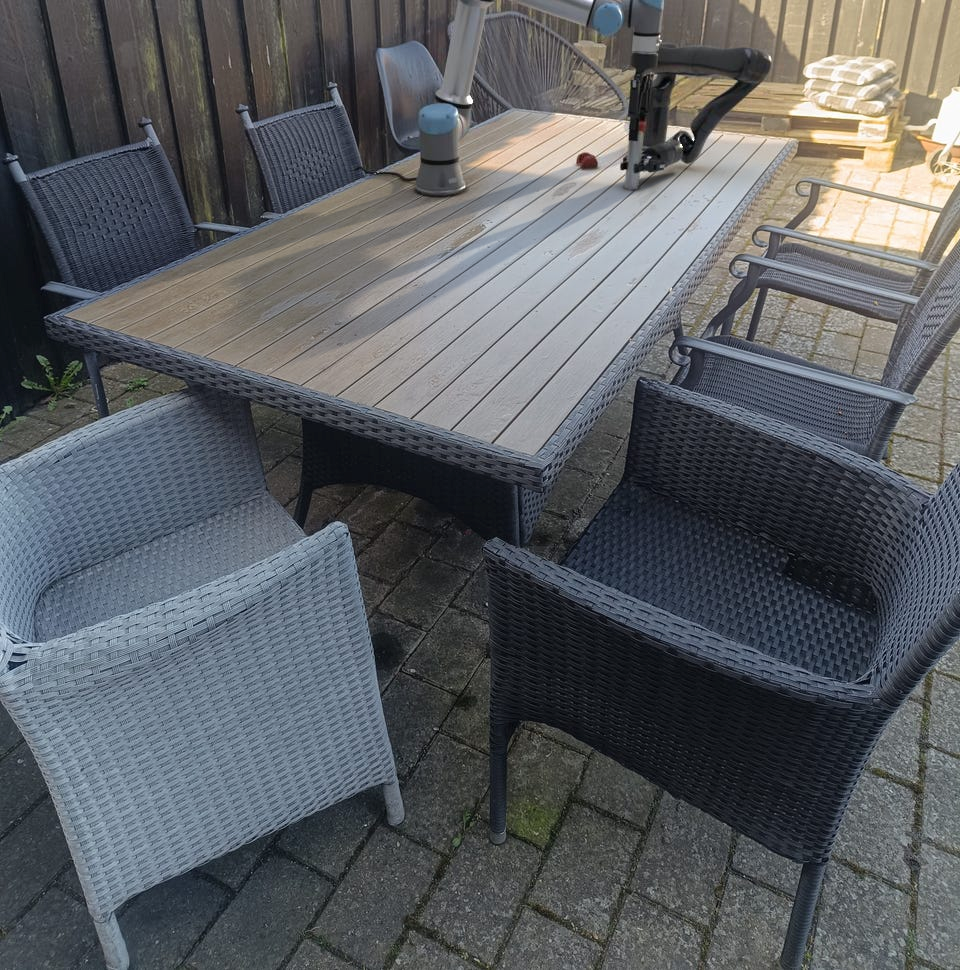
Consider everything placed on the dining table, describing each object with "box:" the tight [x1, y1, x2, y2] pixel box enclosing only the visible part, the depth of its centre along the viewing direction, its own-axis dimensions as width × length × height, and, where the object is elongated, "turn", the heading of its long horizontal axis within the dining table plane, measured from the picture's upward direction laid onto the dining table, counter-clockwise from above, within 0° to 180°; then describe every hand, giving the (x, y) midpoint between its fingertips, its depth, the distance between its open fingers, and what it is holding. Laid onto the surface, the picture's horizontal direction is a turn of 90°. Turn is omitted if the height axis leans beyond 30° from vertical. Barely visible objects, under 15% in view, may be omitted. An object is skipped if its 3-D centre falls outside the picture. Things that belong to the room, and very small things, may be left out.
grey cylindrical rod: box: [623, 131, 644, 191], centre depth 255 cm, size 4×4×18 cm
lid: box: [628, 121, 646, 132], centre depth 250 cm, size 5×5×2 cm
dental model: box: [575, 151, 599, 169], centre depth 278 cm, size 6×4×8 cm
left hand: (636, 138), depth 252 cm, fingers closed on lid, 5 cm apart
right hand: (628, 168), depth 255 cm, fingers closed on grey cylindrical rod, 4 cm apart
